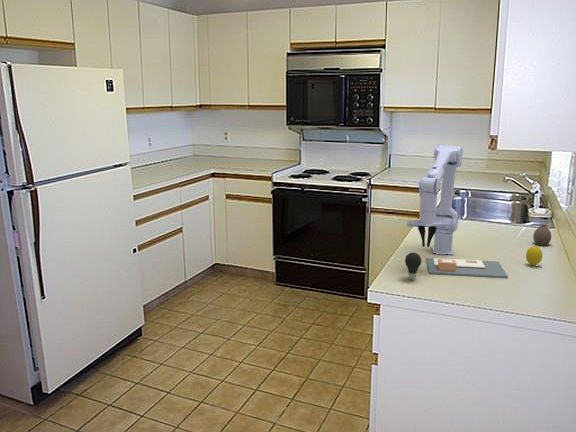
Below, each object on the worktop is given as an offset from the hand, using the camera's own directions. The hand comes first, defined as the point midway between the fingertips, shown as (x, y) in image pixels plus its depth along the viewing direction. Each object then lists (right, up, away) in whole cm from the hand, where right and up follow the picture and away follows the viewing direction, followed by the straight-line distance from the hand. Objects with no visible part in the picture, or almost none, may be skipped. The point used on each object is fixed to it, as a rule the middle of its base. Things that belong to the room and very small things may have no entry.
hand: (425, 246), depth 186 cm
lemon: (+42, -8, +6) cm, 44 cm away
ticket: (+14, -8, +6) cm, 17 cm away
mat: (+16, -9, +3) cm, 18 cm away
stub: (+8, -9, +1) cm, 12 cm away
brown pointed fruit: (+59, -1, +32) cm, 67 cm away
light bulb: (-7, -12, -7) cm, 15 cm away
